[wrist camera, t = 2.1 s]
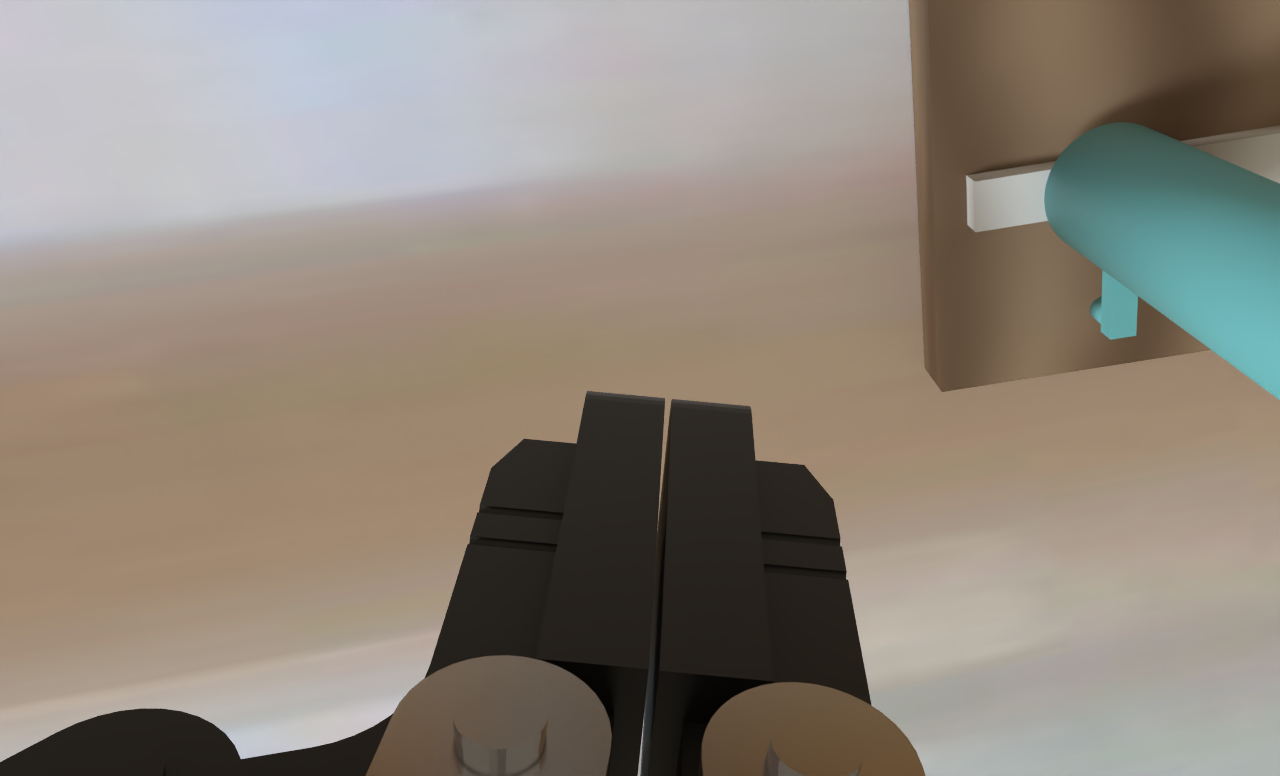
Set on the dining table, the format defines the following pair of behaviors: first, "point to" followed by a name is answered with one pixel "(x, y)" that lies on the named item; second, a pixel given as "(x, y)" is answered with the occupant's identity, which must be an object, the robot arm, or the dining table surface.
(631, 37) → the dining table surface
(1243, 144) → the gauge board
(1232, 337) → the teal lever handle
